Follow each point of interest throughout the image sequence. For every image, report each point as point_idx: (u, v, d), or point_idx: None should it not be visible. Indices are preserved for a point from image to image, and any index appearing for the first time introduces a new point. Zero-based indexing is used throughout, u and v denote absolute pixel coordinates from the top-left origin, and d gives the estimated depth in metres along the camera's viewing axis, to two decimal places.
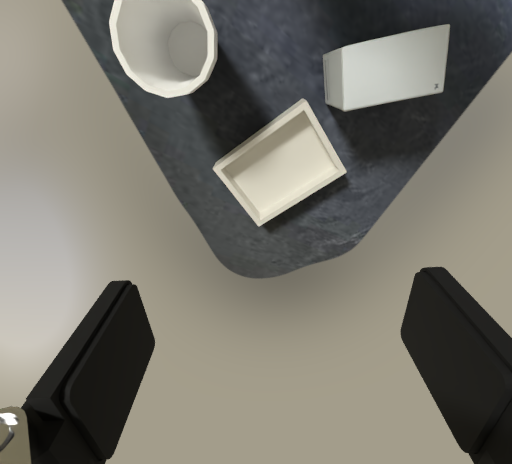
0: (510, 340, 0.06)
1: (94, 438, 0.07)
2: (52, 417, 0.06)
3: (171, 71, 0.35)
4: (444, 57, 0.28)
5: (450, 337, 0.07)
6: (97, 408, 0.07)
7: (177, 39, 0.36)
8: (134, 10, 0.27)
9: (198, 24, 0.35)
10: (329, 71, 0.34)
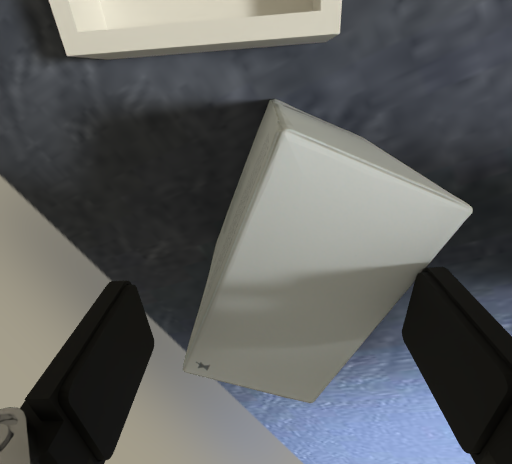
0: None
1: (93, 439, 0.07)
2: (51, 418, 0.06)
3: None
4: (258, 387, 0.12)
5: (452, 337, 0.07)
6: (96, 408, 0.07)
7: None
8: None
9: None
10: (356, 138, 0.13)
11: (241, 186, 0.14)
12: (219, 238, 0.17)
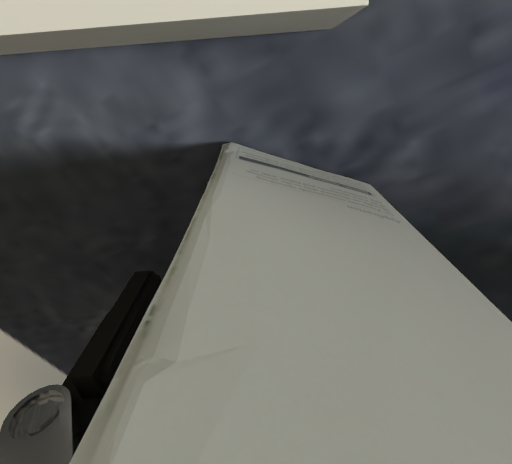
0: None
1: None
2: (91, 395, 0.06)
3: None
4: None
5: None
6: None
7: None
8: None
9: None
10: (362, 216, 0.07)
11: None
12: None
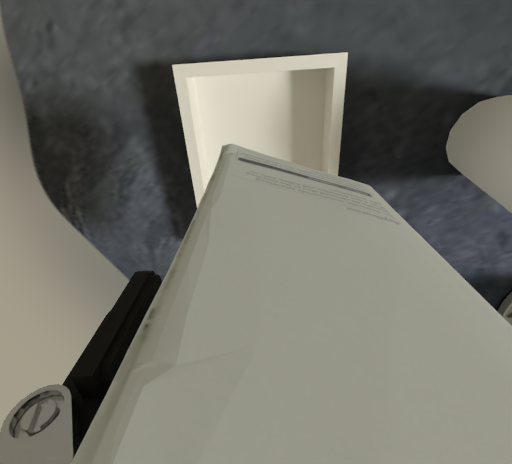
0: None
1: None
2: (92, 395, 0.06)
3: None
4: None
5: None
6: None
7: None
8: None
9: None
10: (361, 217, 0.07)
11: None
12: None
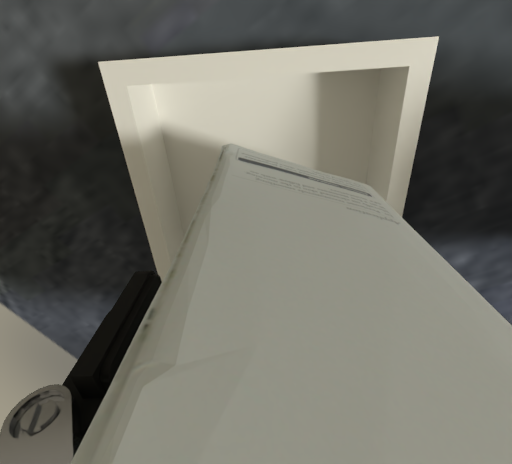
0: None
1: None
2: (92, 395, 0.06)
3: None
4: None
5: None
6: None
7: None
8: None
9: None
10: (361, 217, 0.07)
11: None
12: None
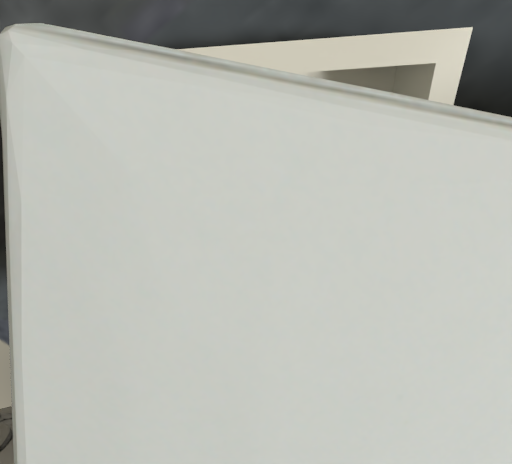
0: None
1: None
2: None
3: None
4: None
5: None
6: None
7: None
8: None
9: None
10: None
11: None
12: None
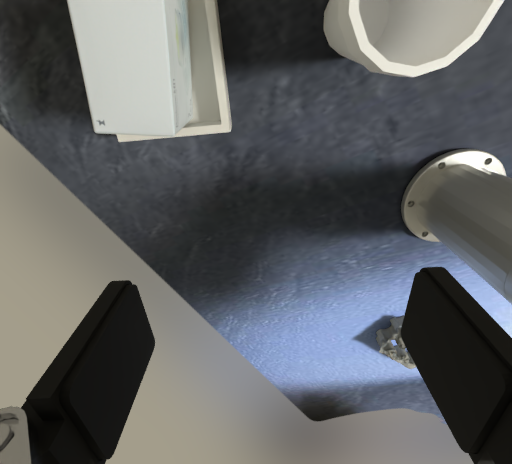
0: (510, 340, 0.06)
1: (94, 438, 0.07)
2: (52, 417, 0.06)
3: None
4: (137, 131, 0.22)
5: (450, 337, 0.07)
6: (97, 408, 0.07)
7: (377, 7, 0.27)
8: None
9: None
10: None
11: None
12: None
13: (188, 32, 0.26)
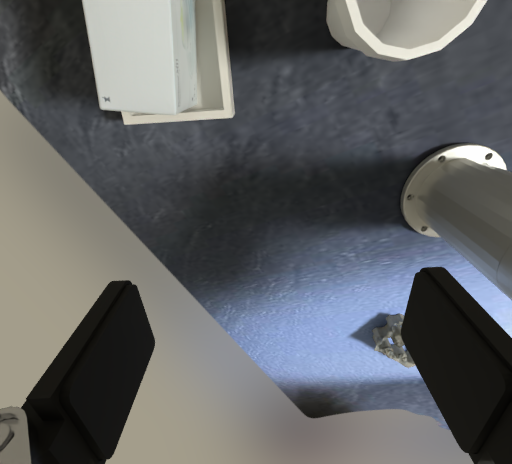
0: (510, 340, 0.06)
1: (94, 438, 0.07)
2: (52, 417, 0.06)
3: None
4: (141, 108, 0.23)
5: (450, 337, 0.07)
6: (97, 408, 0.07)
7: None
8: None
9: None
10: None
11: None
12: None
13: (194, 19, 0.27)
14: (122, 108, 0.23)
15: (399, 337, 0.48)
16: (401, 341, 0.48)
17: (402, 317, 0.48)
